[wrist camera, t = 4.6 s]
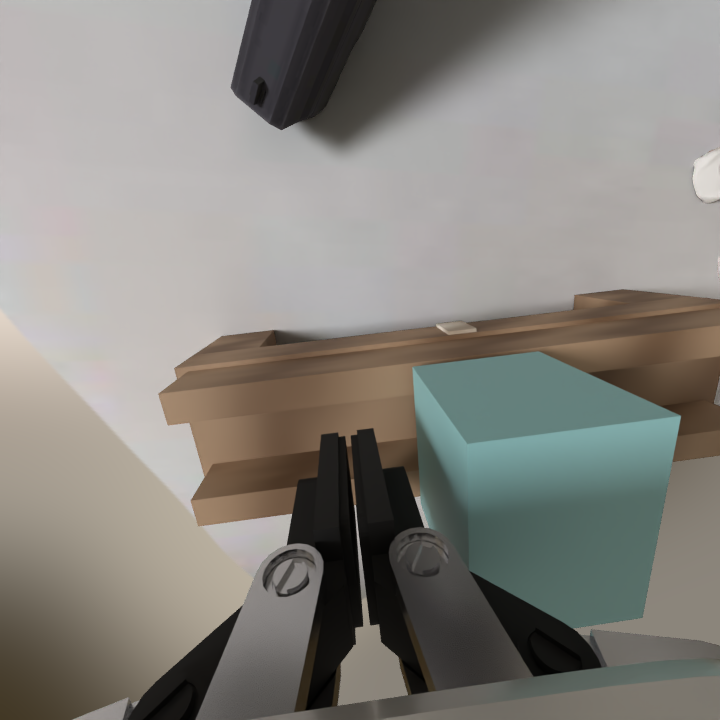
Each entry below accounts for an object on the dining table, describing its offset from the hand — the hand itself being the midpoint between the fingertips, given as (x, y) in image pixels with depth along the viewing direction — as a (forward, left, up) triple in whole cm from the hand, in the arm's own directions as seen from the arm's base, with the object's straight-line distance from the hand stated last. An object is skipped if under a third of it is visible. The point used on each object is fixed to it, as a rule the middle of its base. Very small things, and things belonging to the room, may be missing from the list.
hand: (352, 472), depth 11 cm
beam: (-5, 0, -10) cm, 12 cm away
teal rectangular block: (-5, 0, -4) cm, 6 cm away
